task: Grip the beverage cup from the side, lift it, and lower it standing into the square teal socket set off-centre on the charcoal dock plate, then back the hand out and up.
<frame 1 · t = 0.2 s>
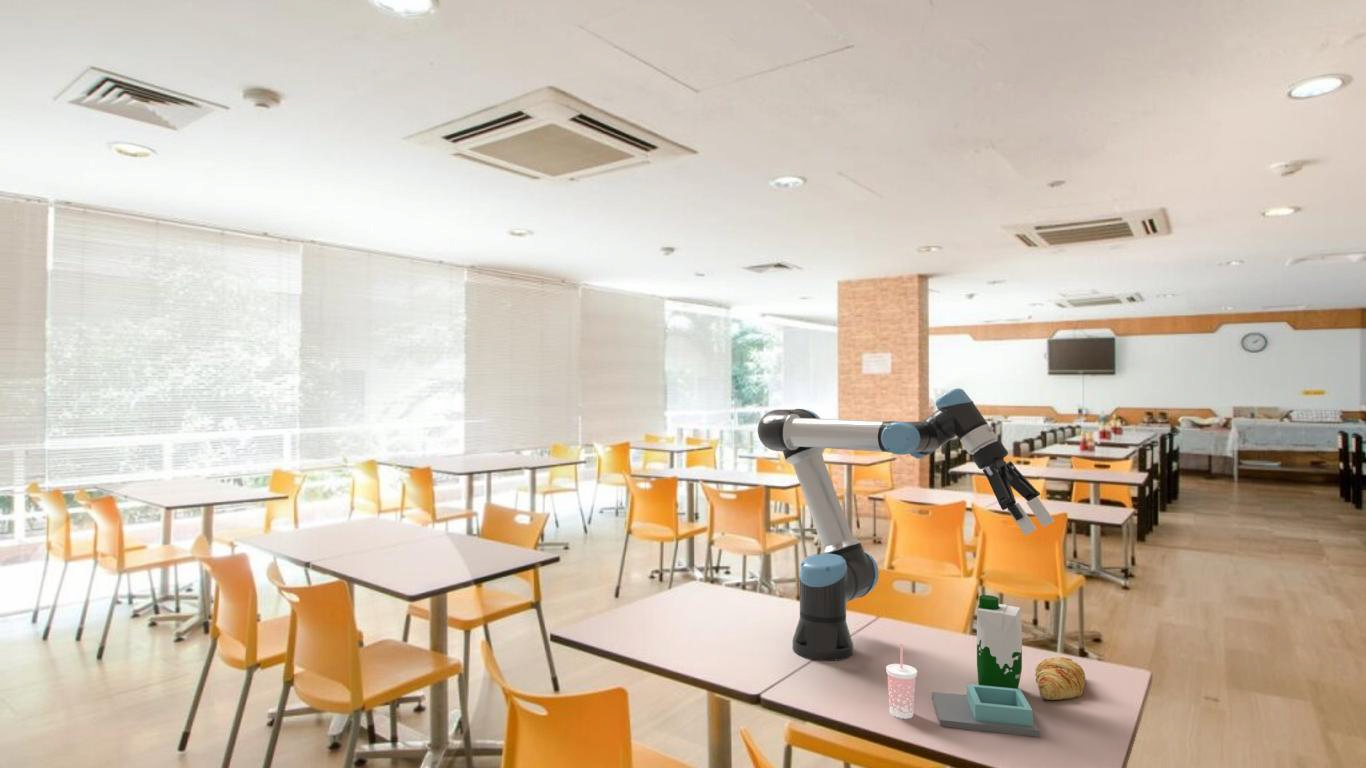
hand: (1040, 528, 160), 36 cm above the table, tool tilted 35°, fingers open, 13 cm apart
beverage cup: (901, 714, 145), on the table
milk carton: (999, 690, 158), on the table
croissant: (1059, 690, 159), on the table
dock: (982, 715, 145), on the table
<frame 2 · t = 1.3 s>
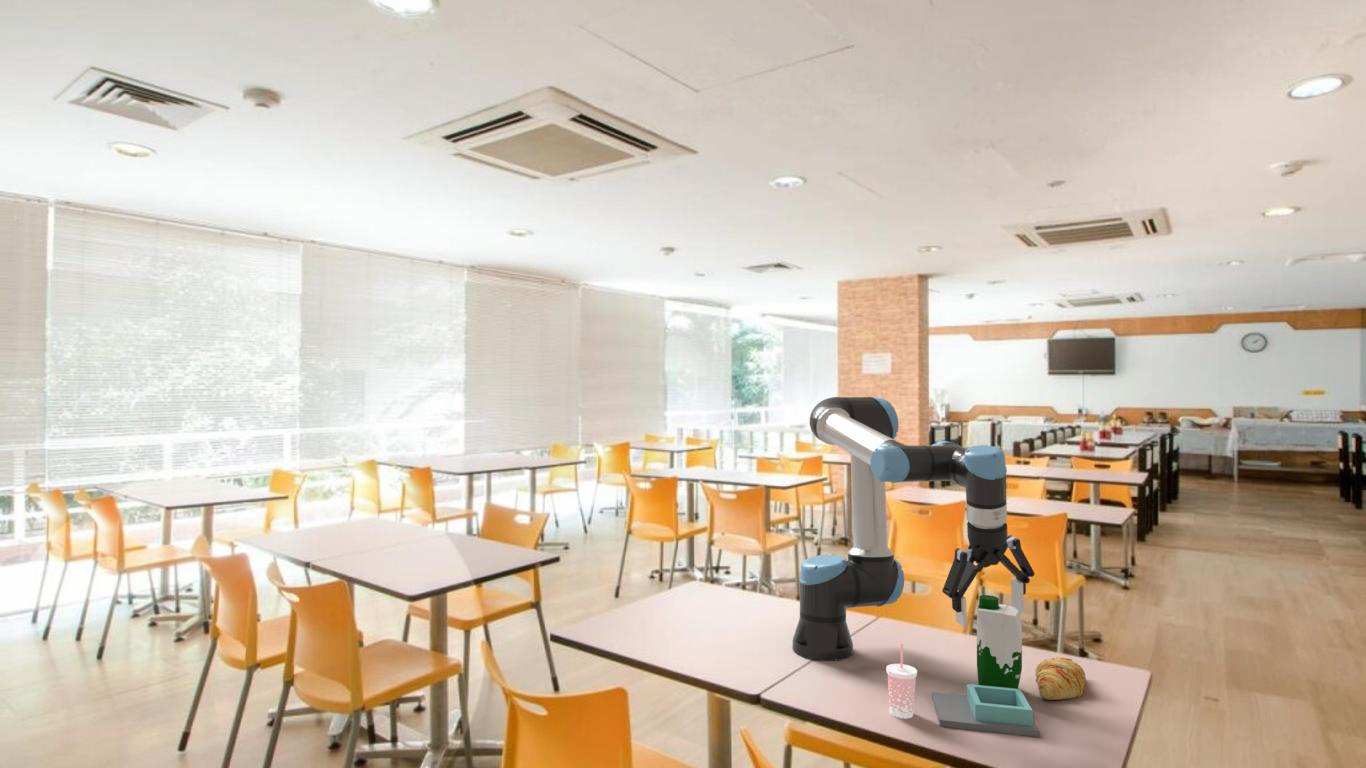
hand: (989, 616, 149), 19 cm above the table, tool tilted 15°, fingers open, 13 cm apart
nothing on the table moved.
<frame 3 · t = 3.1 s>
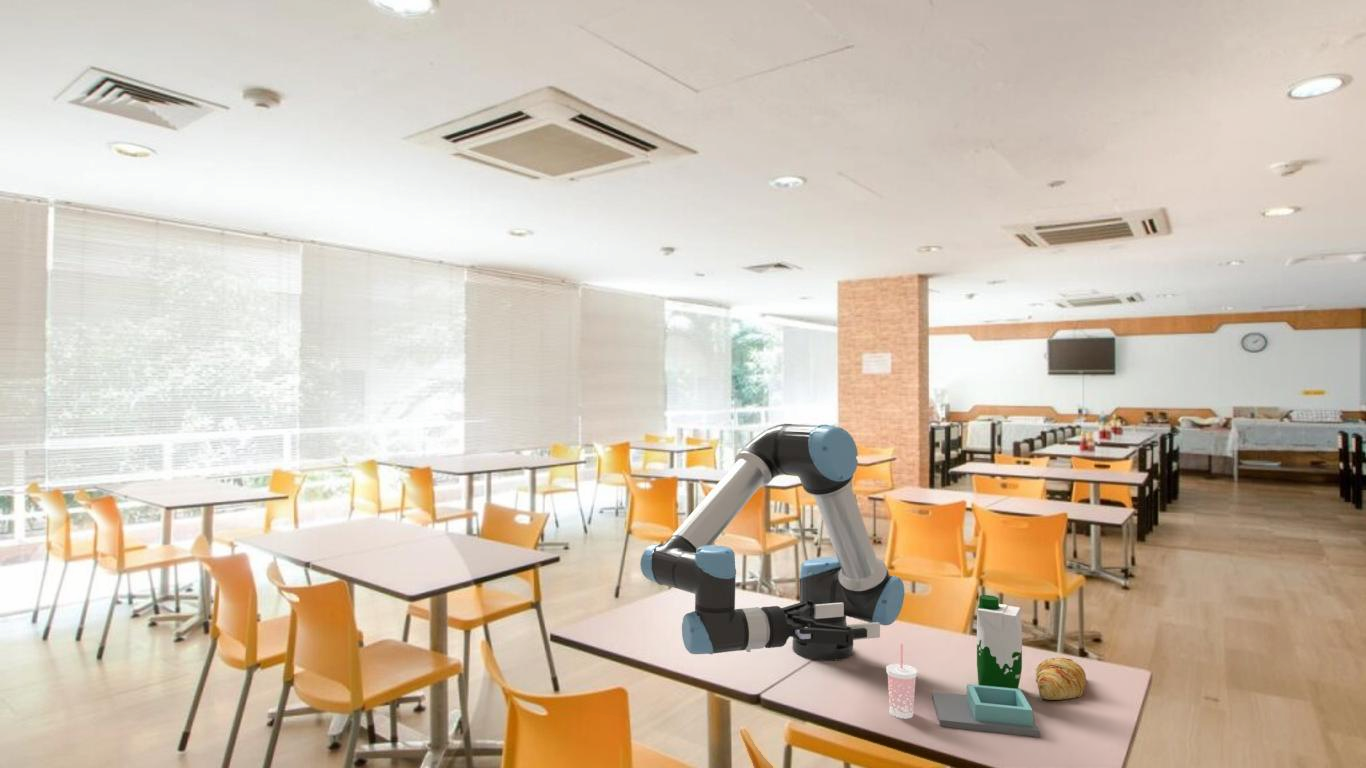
hand: (860, 619, 143), 20 cm above the table, tool horizontal, fingers open, 13 cm apart
nothing on the table moved.
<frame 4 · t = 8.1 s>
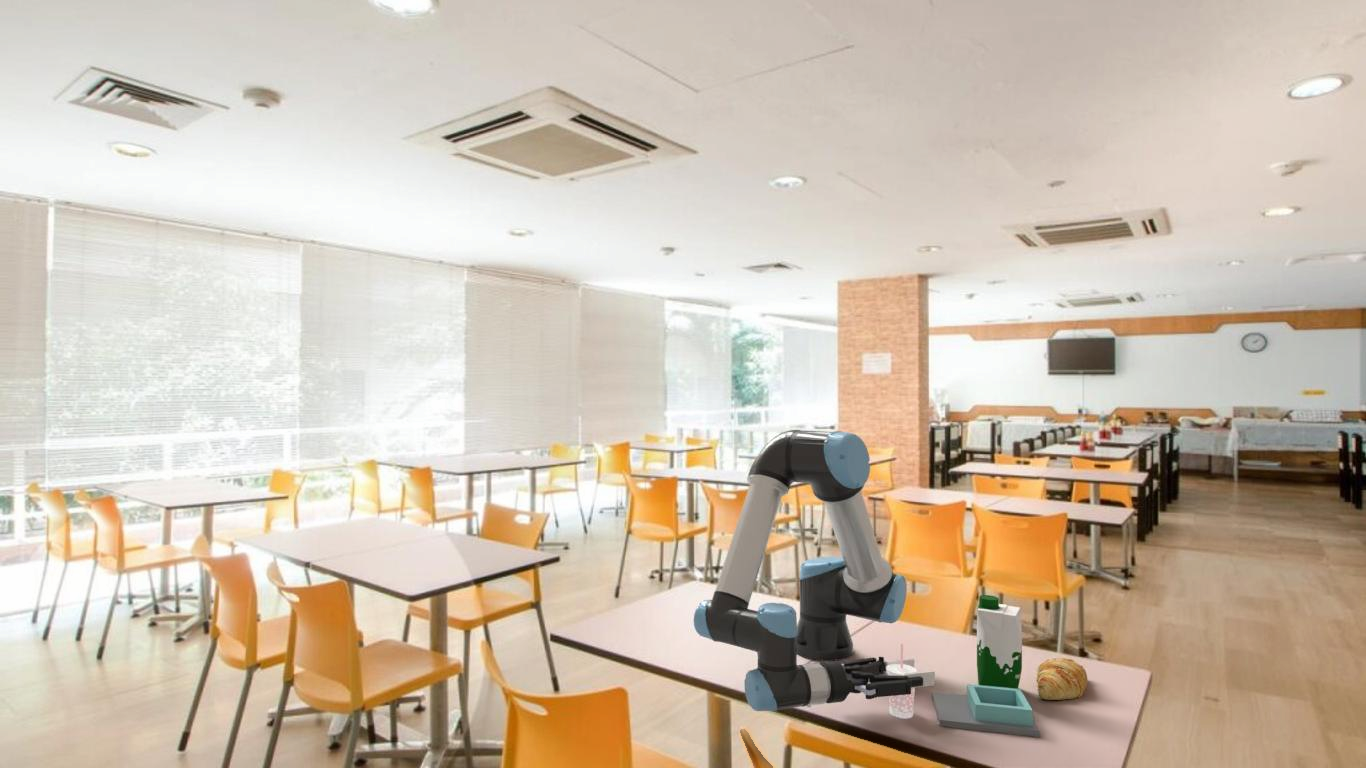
hand: (922, 671, 147), 8 cm above the table, tool horizontal, fingers closed on beverage cup, 6 cm apart
beverage cup: (901, 714, 145), on the table, touching gripper
everything else where it was.
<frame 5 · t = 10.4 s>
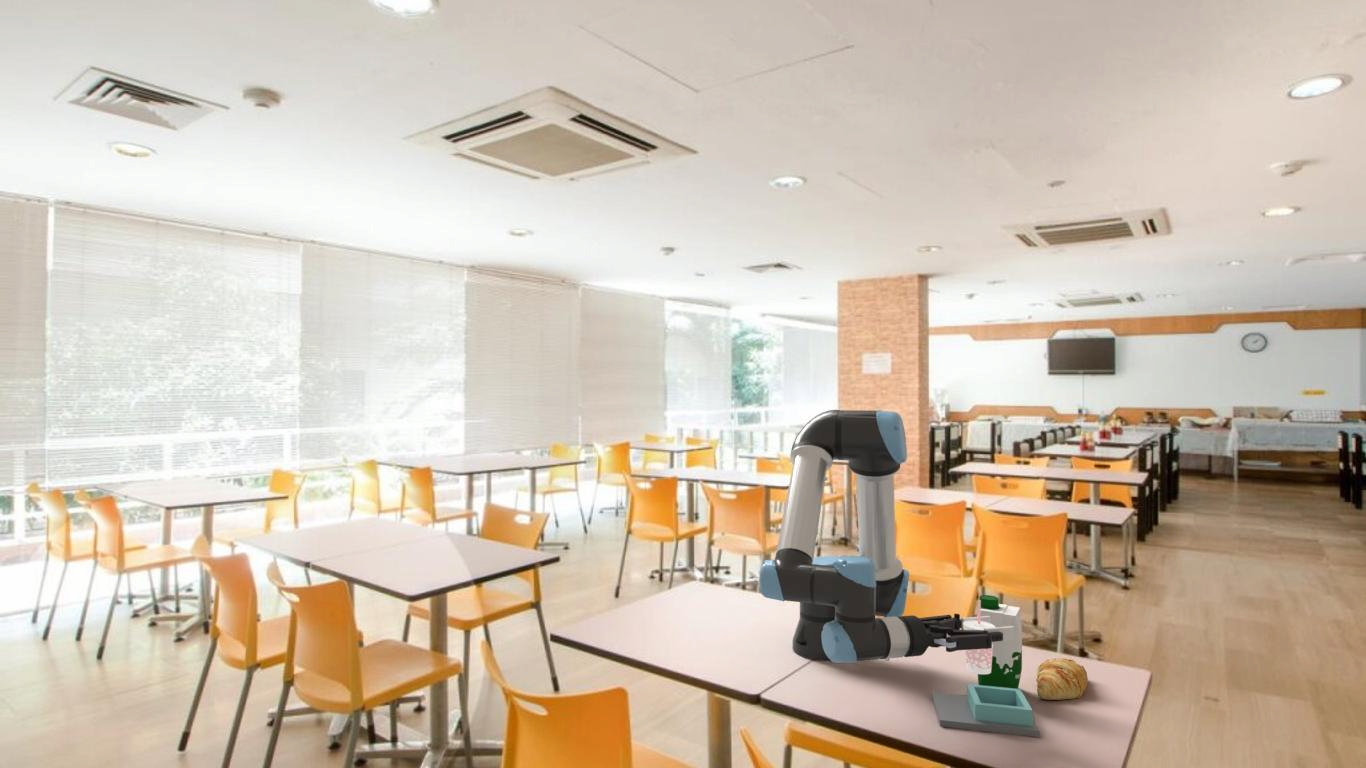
hand: (1000, 627, 145), 18 cm above the table, tool horizontal, fingers closed on beverage cup, 6 cm apart
beverage cup: (978, 671, 143), point 10 cm above the table, touching gripper
everything else where it was.
when the fingers open (10 cm above the table, at t = 12.8 s): beverage cup drops 1 cm, resting on dock.
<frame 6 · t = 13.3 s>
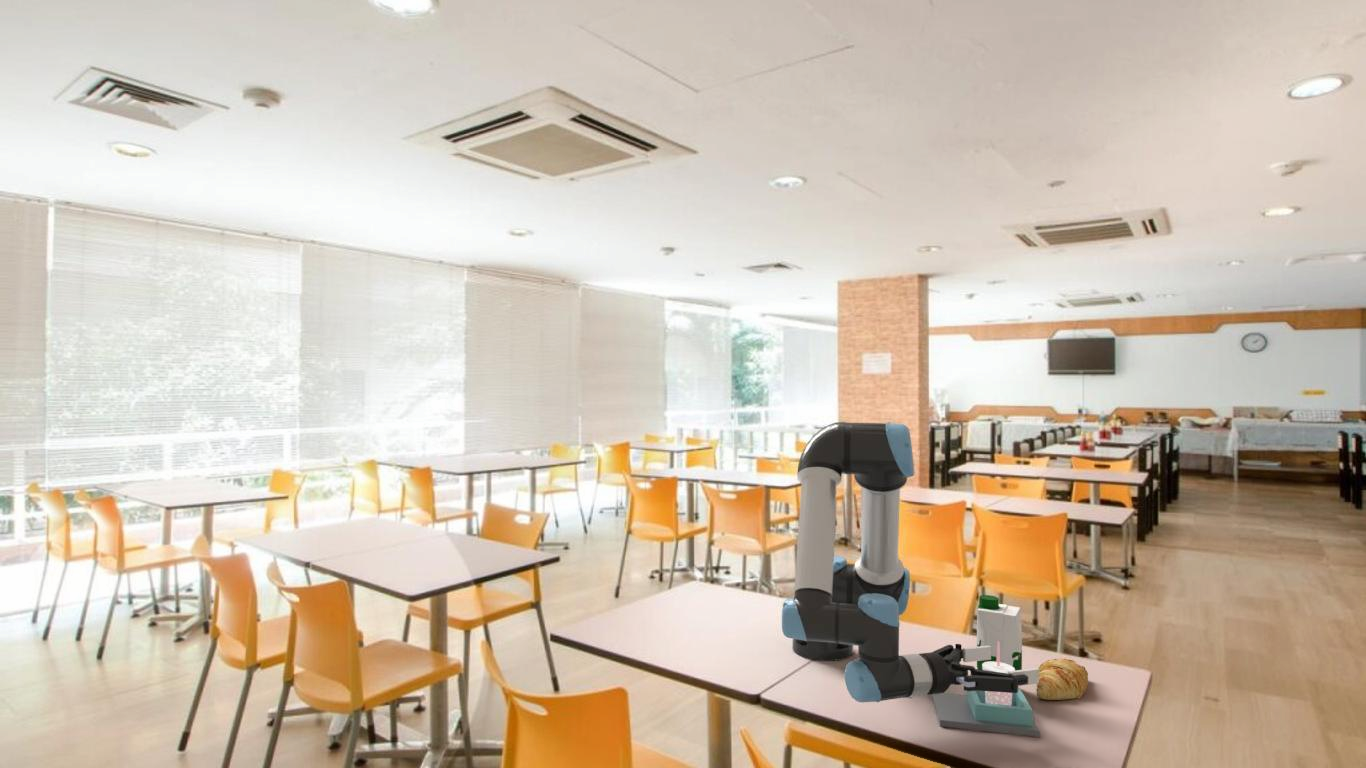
hand: (1012, 663, 145), 10 cm above the table, tool horizontal, fingers open, 12 cm apart
beverage cup: (998, 712, 144), point 1 cm above the table, touching dock
everything else where it was.
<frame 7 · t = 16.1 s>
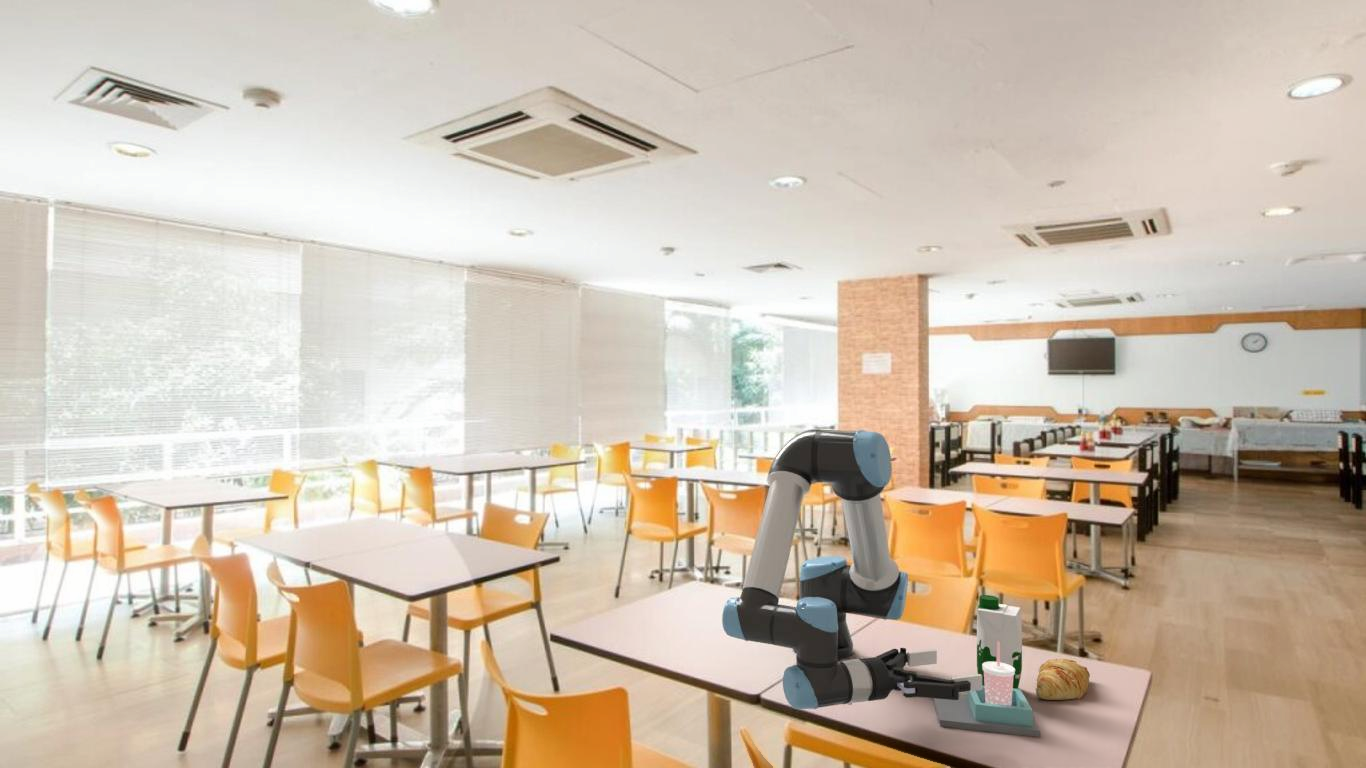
hand: (957, 668, 142), 11 cm above the table, tool horizontal, fingers open, 13 cm apart
nothing on the table moved.
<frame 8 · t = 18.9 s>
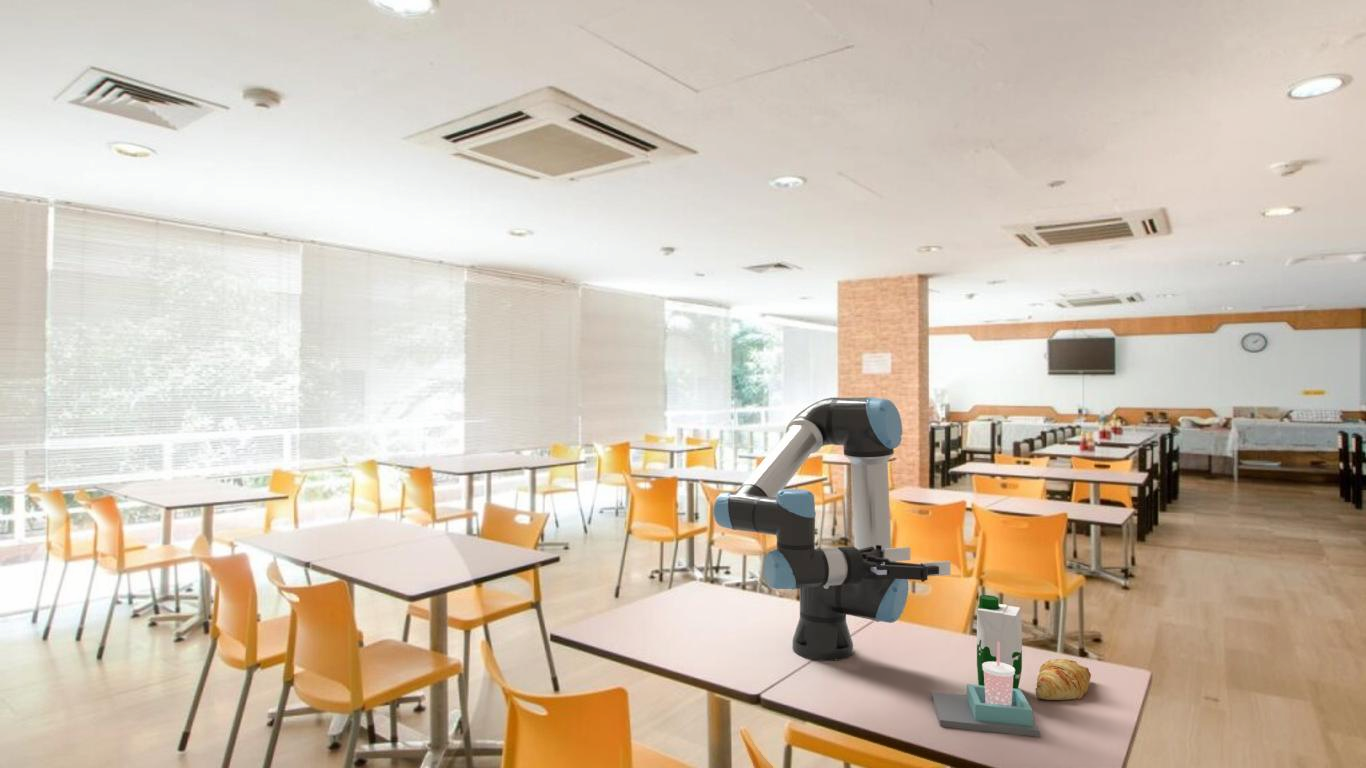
hand: (928, 560, 151), 30 cm above the table, tool horizontal, fingers open, 13 cm apart
nothing on the table moved.
at the end: beverage cup 0.1 cm from the target spot on the dock, point 1.0 cm above the dock's base; beverage cup tilted 0°; the gripper is holding nothing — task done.
